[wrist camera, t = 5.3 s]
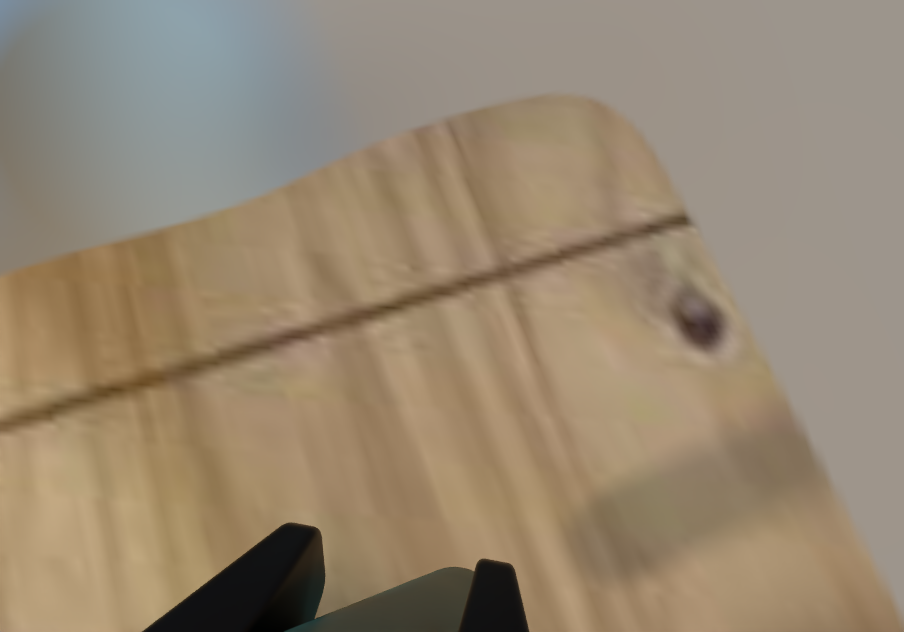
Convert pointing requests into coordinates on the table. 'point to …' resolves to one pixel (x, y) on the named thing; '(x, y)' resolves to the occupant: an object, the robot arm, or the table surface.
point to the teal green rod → (404, 607)
